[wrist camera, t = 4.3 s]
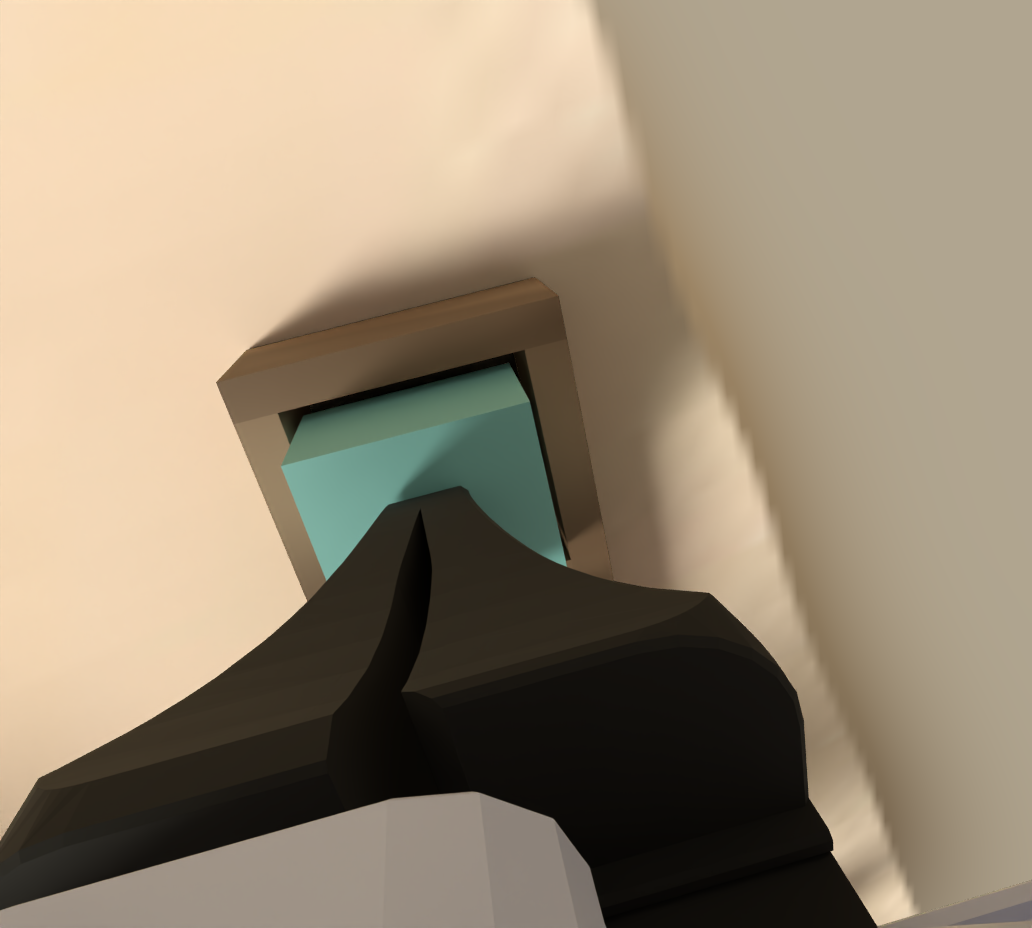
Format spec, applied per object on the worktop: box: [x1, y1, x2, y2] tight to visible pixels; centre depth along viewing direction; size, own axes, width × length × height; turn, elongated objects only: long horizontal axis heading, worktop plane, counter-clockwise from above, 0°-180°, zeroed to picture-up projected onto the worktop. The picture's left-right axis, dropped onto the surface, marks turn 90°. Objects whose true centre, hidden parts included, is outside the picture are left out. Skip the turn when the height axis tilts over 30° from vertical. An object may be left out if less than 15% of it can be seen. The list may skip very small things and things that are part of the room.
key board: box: [216, 277, 614, 602], centre depth 16 cm, size 11×6×2 cm, turn 13°
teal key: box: [281, 363, 567, 581], centre depth 13 cm, size 4×4×2 cm
